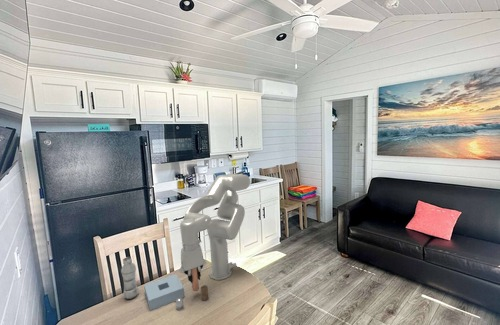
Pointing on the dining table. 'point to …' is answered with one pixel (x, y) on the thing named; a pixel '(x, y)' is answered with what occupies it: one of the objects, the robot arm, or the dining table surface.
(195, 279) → the long pin
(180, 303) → the short pin
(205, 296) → the mid pin
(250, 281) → the dining table surface
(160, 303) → the hole block
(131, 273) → the plastic bottle
